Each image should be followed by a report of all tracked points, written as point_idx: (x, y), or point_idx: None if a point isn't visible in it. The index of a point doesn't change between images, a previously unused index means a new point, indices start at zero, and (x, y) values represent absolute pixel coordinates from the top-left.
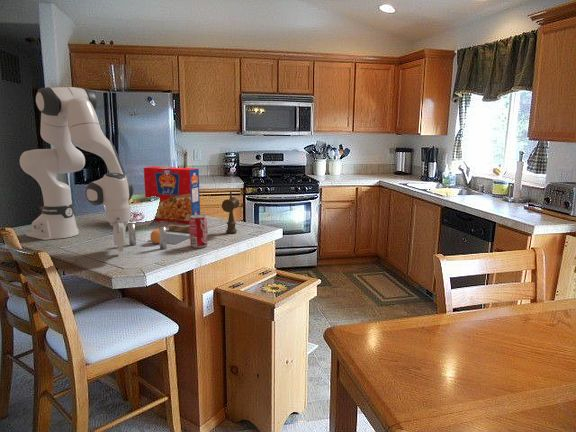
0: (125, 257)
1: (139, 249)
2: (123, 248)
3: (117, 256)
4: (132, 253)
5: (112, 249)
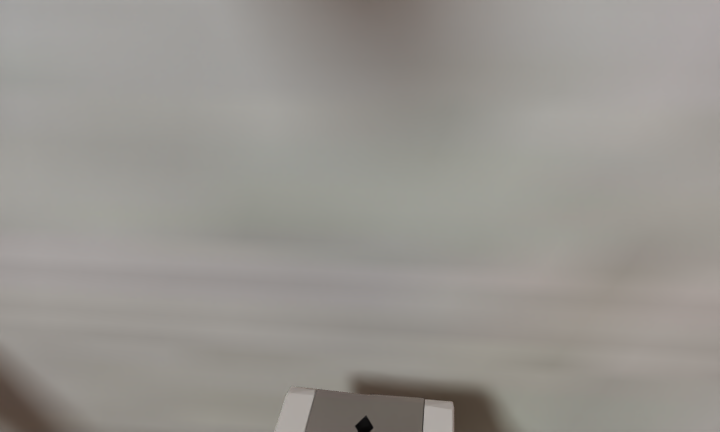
0: (606, 305)
1: (20, 14)
2: (295, 397)
3: (466, 395)
4: (346, 176)
5: (55, 410)
